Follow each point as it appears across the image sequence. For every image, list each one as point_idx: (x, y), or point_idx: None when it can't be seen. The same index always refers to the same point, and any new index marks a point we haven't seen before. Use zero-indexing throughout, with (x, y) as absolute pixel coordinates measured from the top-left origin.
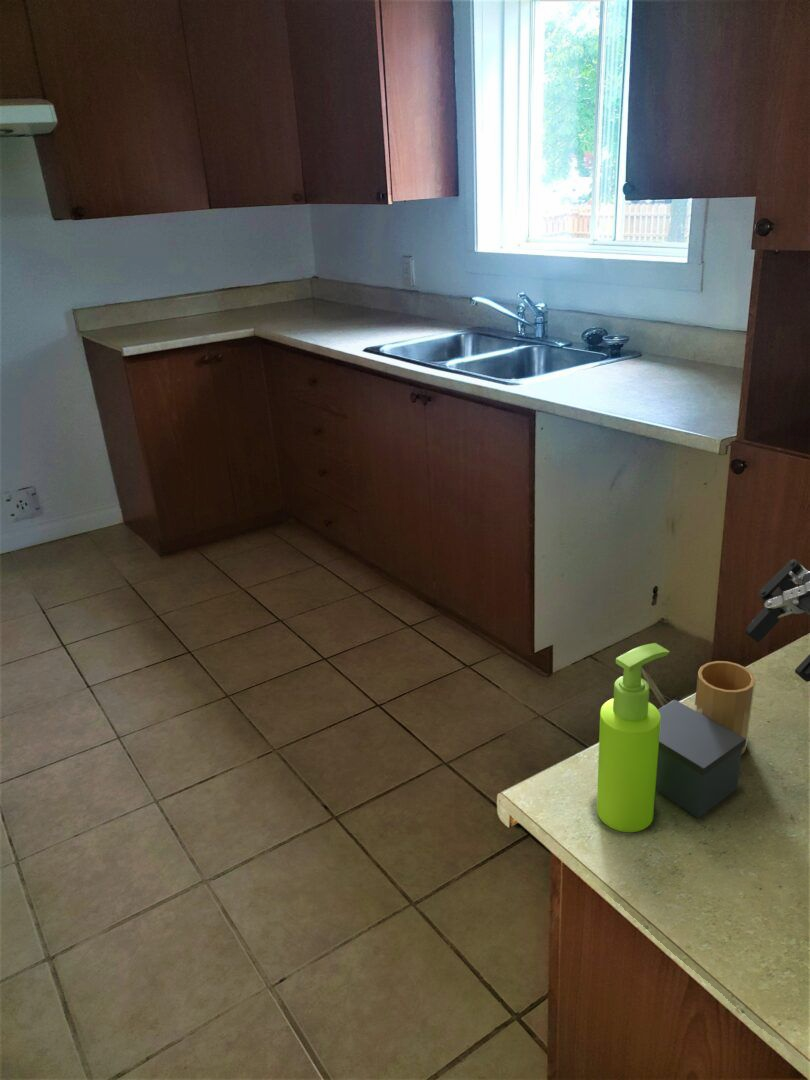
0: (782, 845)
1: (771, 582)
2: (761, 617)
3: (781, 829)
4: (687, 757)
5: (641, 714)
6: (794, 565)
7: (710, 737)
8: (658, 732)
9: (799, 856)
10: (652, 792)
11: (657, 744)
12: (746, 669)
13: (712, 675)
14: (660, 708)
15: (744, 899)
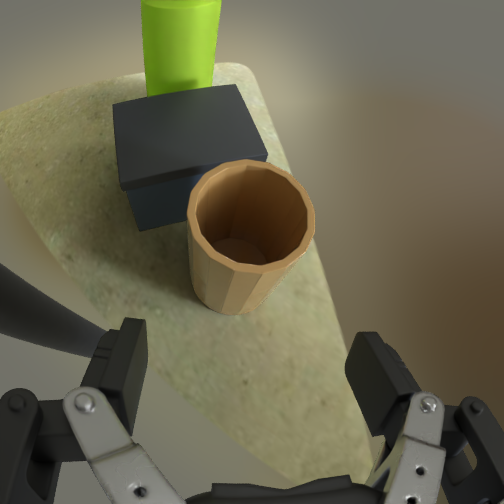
0: (50, 217)
1: (499, 440)
2: (392, 370)
3: (64, 233)
4: (141, 98)
5: None
6: None
7: (154, 140)
8: (145, 17)
9: (32, 222)
10: (147, 88)
11: (145, 33)
12: (257, 268)
13: (297, 234)
14: (254, 125)
15: (39, 147)
